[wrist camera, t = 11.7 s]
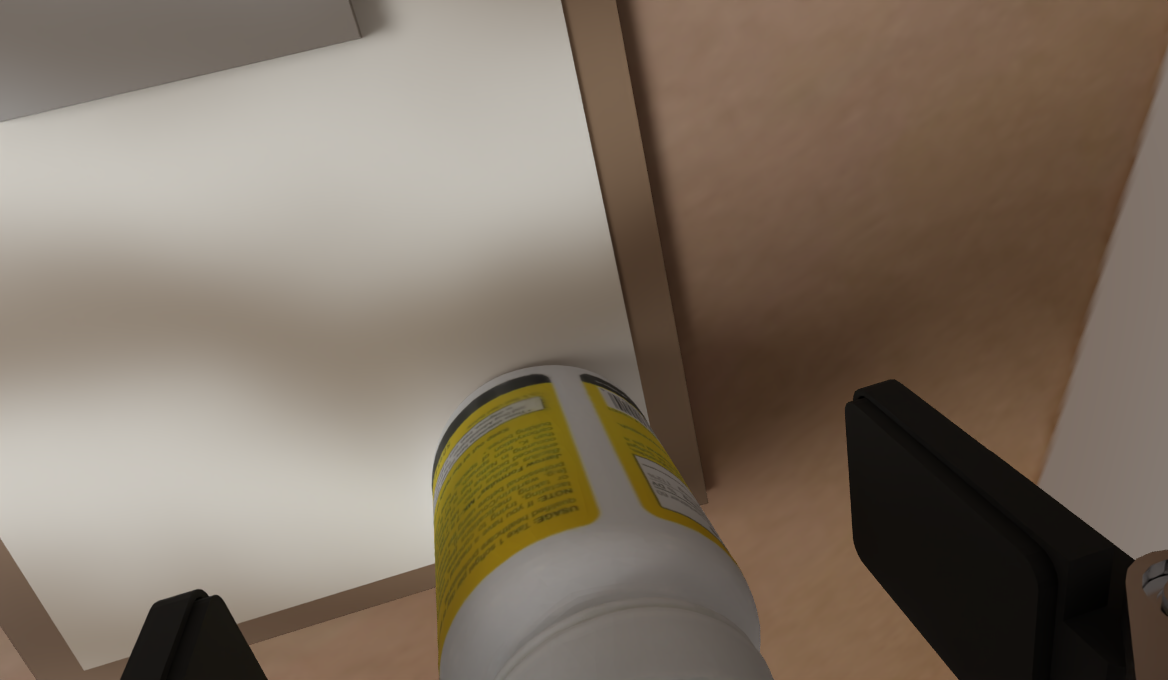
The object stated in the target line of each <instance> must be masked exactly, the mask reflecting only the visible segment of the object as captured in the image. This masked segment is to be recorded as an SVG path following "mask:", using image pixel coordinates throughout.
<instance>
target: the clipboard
mask: <svg viewBox="0 0 1168 680" xmlns="http://www.w3.org/2000/svg"><path fill="white" fill-rule="evenodd" d="M543 365H563V366H572V367H577V368H581V369H585V370H588V371H591V372H594V373H596V374H598V375H600V376H602V377H604V378H606V379H608V380H610V381H611V382H613V383H614V384H615V385H617V386H618V387H619V388H621V389H622V390H623V391H624V392H625V393H626V394H627V395H628V396H629V397H630V398H631V399H632V400H633V401H634V403H635V404H636V405H637V407H638V408H639V410H640V411H641V412H642V414H643V415H644V417H645V418H646V420H647V422H648V424H649V425H650V427H651V428H652V430H653V432H654V433H655V435H656V436H657V438H658V440H659V441H660V443H661V444H662V446H663V448H664V449H665V451H666V452H667V454H668V455H669V457H670V459H671V460H672V462H673V463H674V465H675V467H676V468H677V470H678V471H679V473H680V475H681V476H682V478H683V479H684V481H685V483H686V484H687V486H688V487H689V489H690V491H691V492H692V494H693V496H694V497H695V499H696V500H697V502H698V504H699V505H703V504H706V503H708V499H707V493H706V488H705V482H704V477H703V471H702V466H701V461H700V455H699V450H698V444H697V439H696V433H695V428H694V423H693V417H692V412H691V406H690V401H689V395H688V390H687V385H686V379H685V374H684V368H683V363H682V357H681V352H680V347H679V341H678V336H677V330H676V325H675V319H674V314H673V309H672V303H671V298H670V292H669V287H668V281H667V276H666V271H665V265H664V260H663V254H662V249H661V243H660V238H659V232H658V227H657V222H656V216H655V211H654V205H653V200H652V194H651V189H650V184H649V178H648V173H647V167H646V162H645V156H644V151H643V146H642V140H641V135H640V129H639V124H638V118H637V113H636V108H635V102H634V97H633V91H632V86H631V80H630V75H629V70H628V64H627V59H626V53H625V48H624V42H623V37H622V31H621V26H620V21H619V15H618V10H617V4H616V0H0V626H1V628H2V629H3V631H4V632H5V634H6V635H7V637H8V638H9V640H10V641H11V643H12V644H13V646H14V647H15V649H16V650H17V652H18V653H19V655H20V656H21V658H22V659H23V661H24V662H25V664H26V665H27V667H28V668H29V670H30V671H31V673H32V674H33V675H34V677H35V678H36V680H120V678H121V676H122V674H123V671H124V669H125V667H126V664H127V662H128V660H129V657H130V655H131V653H132V650H133V648H134V645H135V643H136V641H137V638H138V636H139V634H140V631H141V629H142V627H143V624H144V622H145V620H146V617H147V615H148V613H149V610H150V608H151V607H152V605H153V604H154V603H155V602H157V601H159V600H162V599H166V598H169V597H172V596H176V595H179V594H182V593H186V592H189V591H192V590H196V589H202V590H203V591H205V592H206V593H207V594H208V596H212V595H219V596H220V597H221V598H222V599H223V600H224V602H225V604H226V605H227V607H228V609H229V611H230V613H231V614H232V616H233V618H234V620H235V622H236V623H237V625H238V627H239V629H240V631H241V632H242V634H243V636H244V638H245V640H246V641H247V643H248V645H251V644H254V643H257V642H261V641H264V640H267V639H270V638H274V637H277V636H280V635H283V634H286V633H290V632H293V631H296V630H299V629H303V628H306V627H309V626H312V625H316V624H319V623H322V622H325V621H328V620H332V619H335V618H338V617H341V616H345V615H348V614H351V613H354V612H358V611H361V610H364V609H367V608H370V607H374V606H377V605H380V604H383V603H387V602H390V601H393V600H396V599H400V598H403V597H406V596H409V595H412V594H416V593H419V592H422V591H425V590H429V589H432V588H435V587H436V578H435V555H434V553H435V549H434V524H433V495H432V468H433V459H434V454H435V450H436V446H437V443H438V440H439V438H440V435H441V433H442V431H443V428H444V426H445V425H446V423H447V421H448V420H449V418H450V417H451V415H452V414H453V412H454V411H455V410H456V409H457V407H458V406H459V405H460V404H461V403H462V402H463V401H464V400H465V399H466V398H467V397H468V396H469V395H470V394H471V393H473V392H474V391H475V390H476V389H478V388H479V387H481V386H482V385H484V384H485V383H487V382H489V381H490V380H492V379H494V378H496V377H499V376H501V375H503V374H506V373H509V372H512V371H515V370H519V369H523V368H528V367H534V366H543Z"/></svg>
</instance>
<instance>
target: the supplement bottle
mask: <svg viewBox="0 0 1168 680" xmlns="http://www.w3.org/2000/svg"><path fill="white" fill-rule="evenodd" d="M432 495H433V524H434V549H435V553H434V555H435V578H436V604H437V631H438V651H439V653H438V668H439V680H774V679H773V677H772V675H771V672H770V670H769V668H768V666H767V664H766V662H765V660H764V658H763V657H762V655H761V654H760V624H759V618H758V614H757V609H756V605H755V602H754V599H753V596H752V594H751V591H750V589H749V587H748V584H747V582H746V580H745V578H744V576H743V574H742V572H741V570H740V568H739V566H738V565H737V563H736V562H735V560H734V559H733V558H732V556H731V555H730V553H729V551H728V550H727V548H726V547H725V545H724V544H723V542H722V540H721V539H720V537H719V536H718V534H717V532H716V531H715V529H714V528H713V526H712V524H711V523H710V521H709V520H708V518H707V516H706V515H705V513H704V512H703V510H702V509H701V507H700V505H699V504H698V502H697V500H696V499H695V497H694V496H693V494H692V492H691V491H690V489H689V487H688V486H687V484H686V483H685V481H684V479H683V478H682V476H681V475H680V473H679V471H678V470H677V468H676V467H675V465H674V463H673V462H672V460H671V459H670V457H669V455H668V454H667V452H666V451H665V449H664V448H663V446H662V444H661V443H660V441H659V440H658V438H657V436H656V435H655V433H654V432H653V430H652V428H651V427H650V425H649V424H648V422H647V420H646V418H645V417H644V415H643V414H642V412H641V411H640V410H639V408H638V407H637V405H636V404H635V403H634V401H633V400H632V399H631V398H630V397H629V396H628V395H627V394H626V393H625V392H624V391H623V390H622V389H621V388H619V387H618V386H617V385H615V384H614V383H613V382H611V381H610V380H608V379H606V378H604V377H602V376H600V375H598V374H596V373H594V372H591V371H588V370H585V369H581V368H577V367H572V366H563V365H543V366H534V367H528V368H523V369H519V370H515V371H512V372H509V373H506V374H503V375H501V376H499V377H496V378H494V379H492V380H490V381H489V382H487V383H485V384H484V385H482V386H481V387H479V388H478V389H476V390H475V391H474V392H473V393H471V394H470V395H469V396H468V397H467V398H466V399H465V400H464V401H463V402H462V403H461V404H460V405H459V406H458V407H457V409H456V410H455V411H454V412H453V414H452V415H451V417H450V418H449V420H448V421H447V423H446V425H445V426H444V428H443V431H442V433H441V435H440V438H439V440H438V443H437V446H436V450H435V454H434V459H433V468H432Z"/></svg>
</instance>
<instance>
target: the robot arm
mask: <svg viewBox="0 0 1168 680" xmlns="http://www.w3.org/2000/svg"><path fill="white" fill-rule="evenodd" d="M845 421H846V436H847V452H848V468H849V483H850V499H851V514H852V530H853V541H854V545H855V548H856V551H857V553H858V555H859V557H860V559H861V561H862V562H863V564H864V565H865V566H866V567H867V568H868V570H869V571H870V572H871V573H872V575H873V576H874V577H875V578H876V579H877V581H878V582H879V583H880V584H881V586H882V587H883V588H884V589H885V590H886V592H887V593H888V594H889V595H890V597H891V598H892V599H893V600H894V601H895V603H896V604H897V605H898V606H899V607H900V609H901V610H902V611H903V612H904V614H905V615H906V616H907V617H908V618H909V620H910V621H911V622H912V623H913V625H914V626H915V627H916V628H917V629H918V631H919V632H920V633H921V634H922V635H923V637H924V638H925V639H926V640H927V642H928V643H929V644H930V645H931V646H932V648H933V649H934V650H935V651H936V653H937V654H938V655H939V656H940V657H941V659H942V660H943V661H944V662H945V663H946V665H947V666H948V667H949V668H950V670H951V671H952V672H953V673H954V674H955V676H956V677H957V678H958V679H959V680H1168V550H1162V551H1155V552H1151V553H1148V554H1146V555H1144V556H1142V557H1139V558H1137V559H1136V560H1134V559H1133V558H1131V557H1130V556H1129V555H1127V554H1126V553H1125V552H1123V551H1122V550H1121V549H1119V548H1118V547H1117V546H1115V545H1114V544H1113V543H1112V542H1110V541H1109V540H1108V539H1106V538H1105V537H1104V536H1102V535H1101V534H1100V533H1098V532H1097V531H1096V530H1094V529H1093V528H1092V527H1090V526H1089V525H1088V524H1086V523H1085V522H1084V521H1083V520H1081V519H1080V518H1079V517H1077V516H1076V515H1074V514H1073V513H1072V512H1071V511H1069V510H1068V509H1067V508H1065V507H1064V506H1063V505H1062V504H1060V503H1059V502H1058V501H1056V500H1055V499H1054V498H1052V497H1051V496H1050V495H1048V494H1047V493H1046V492H1044V491H1043V490H1042V489H1040V488H1039V487H1038V486H1036V485H1035V484H1034V483H1033V482H1031V481H1030V480H1029V479H1027V478H1026V477H1025V476H1023V475H1022V474H1021V473H1019V472H1018V471H1017V470H1015V469H1014V468H1013V467H1011V466H1010V465H1009V464H1008V463H1006V462H1005V461H1004V460H1002V459H1001V458H1000V457H998V456H997V455H996V454H994V453H993V452H991V451H990V450H988V449H987V448H985V447H984V446H983V445H982V444H980V443H979V442H978V441H976V440H975V439H974V438H972V437H971V436H970V435H968V434H967V433H966V432H964V431H963V430H962V429H961V428H959V427H958V426H957V425H955V424H954V423H953V422H951V421H950V420H949V419H947V418H946V417H945V416H943V415H942V414H941V413H939V412H938V411H937V410H936V409H934V408H933V407H932V406H930V405H929V404H928V403H926V402H925V401H924V400H922V399H921V398H920V397H918V396H917V395H916V394H914V393H913V392H912V391H911V390H909V389H908V388H907V387H905V386H904V385H903V384H901V383H900V382H898V381H896V380H887V381H884V382H881V383H877V384H874V385H871V386H867V387H864V388H861V389H858V390H857V391H855V393H854V396H853V401H851V402H848V403H847V404H846V407H845ZM120 680H268V679H267V677H266V676H265V674H264V672H263V670H262V668H261V667H260V665H259V663H258V661H257V659H256V658H255V656H254V654H253V652H252V650H251V649H250V647H249V645H248V643H247V641H246V640H245V638H244V636H243V634H242V632H241V631H240V629H239V627H238V625H237V623H236V622H235V620H234V618H233V616H232V614H231V613H230V611H229V609H228V607H227V605H226V604H225V602H224V600H223V599H222V598H221V597H220V596H219V595H212V596H208V594H207V593H206V592H205V591H203V590H202V589H196V590H192V591H189V592H186V593H182V594H179V595H176V596H172V597H169V598H166V599H162V600H159V601H157V602H155V603H154V604H153V605H152V607H151V608H150V610H149V613H148V615H147V617H146V620H145V622H144V624H143V627H142V629H141V631H140V634H139V636H138V638H137V641H136V643H135V645H134V648H133V650H132V653H131V655H130V657H129V660H128V662H127V664H126V667H125V669H124V671H123V674H122V676H121V678H120Z"/></svg>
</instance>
